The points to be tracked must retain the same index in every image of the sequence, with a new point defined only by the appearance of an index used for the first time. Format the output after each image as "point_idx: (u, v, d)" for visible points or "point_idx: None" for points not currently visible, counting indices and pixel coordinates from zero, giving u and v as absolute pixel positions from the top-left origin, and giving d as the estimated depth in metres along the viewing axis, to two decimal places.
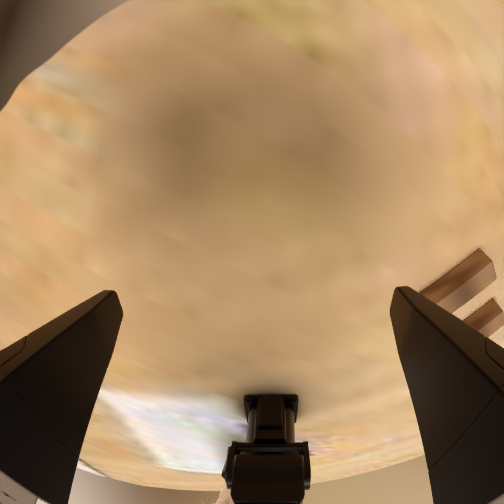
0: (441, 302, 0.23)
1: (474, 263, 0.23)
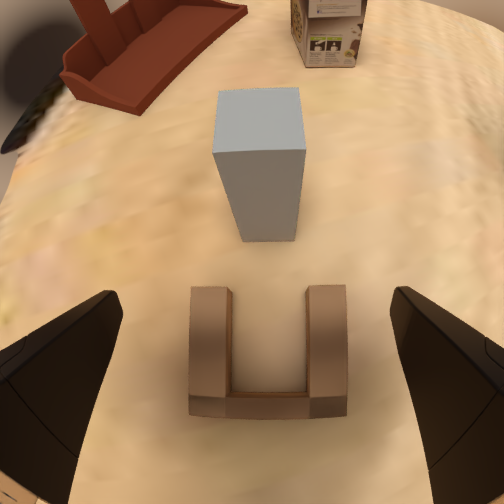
0: (192, 380, 0.19)
1: None
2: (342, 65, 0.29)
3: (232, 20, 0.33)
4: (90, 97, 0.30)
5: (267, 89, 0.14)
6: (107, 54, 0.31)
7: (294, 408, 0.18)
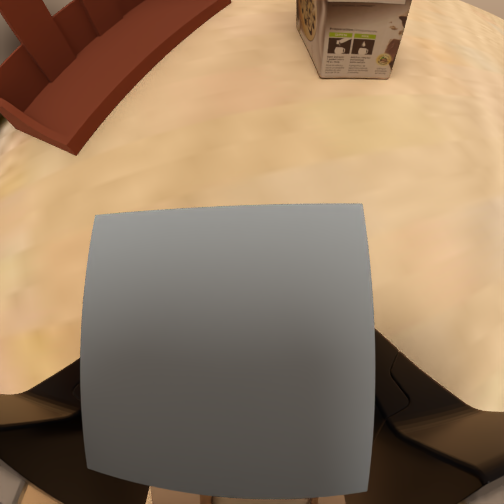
0: None
1: None
2: (372, 76, 0.20)
3: (209, 12, 0.24)
4: (24, 128, 0.21)
5: (250, 213, 0.04)
6: (49, 67, 0.22)
7: None
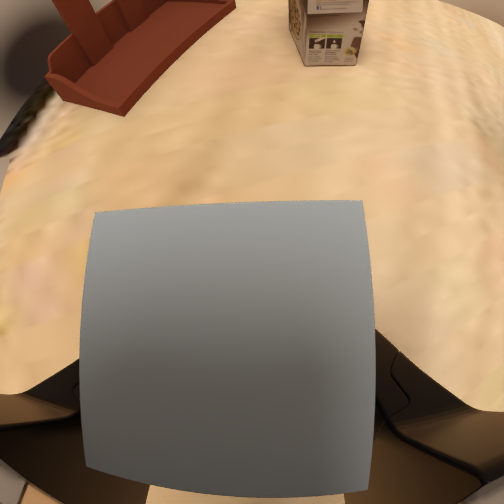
0: None
1: None
2: (343, 63, 0.28)
3: (219, 15, 0.31)
4: (75, 98, 0.29)
5: (249, 210, 0.04)
6: (93, 54, 0.29)
7: None
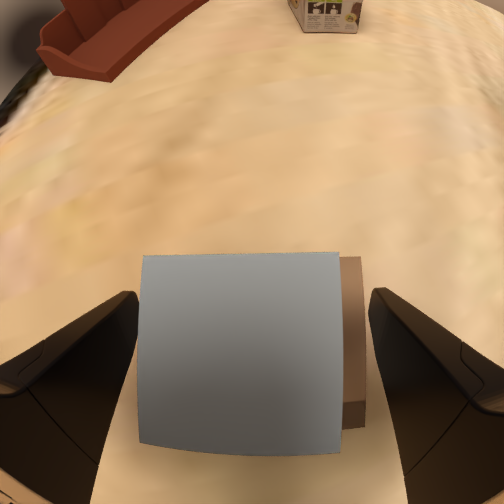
0: None
1: None
2: (343, 31, 0.25)
3: None
4: (64, 69, 0.26)
5: (259, 260, 0.06)
6: (85, 29, 0.27)
7: None
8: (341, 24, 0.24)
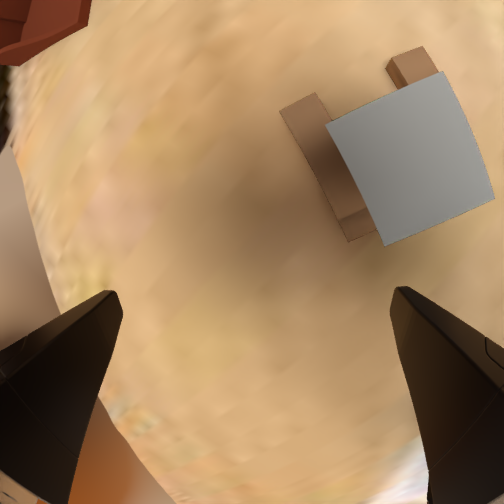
0: (334, 203, 0.18)
1: None
2: None
3: None
4: (29, 52, 0.21)
5: (401, 93, 0.07)
6: (18, 15, 0.18)
7: None
8: None
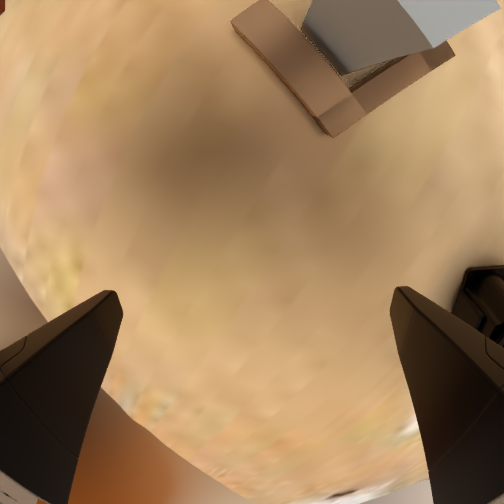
0: (309, 100, 0.15)
1: (249, 42, 0.15)
2: None
3: None
4: None
5: None
6: None
7: (414, 67, 0.13)
8: None
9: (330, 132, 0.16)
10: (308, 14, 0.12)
